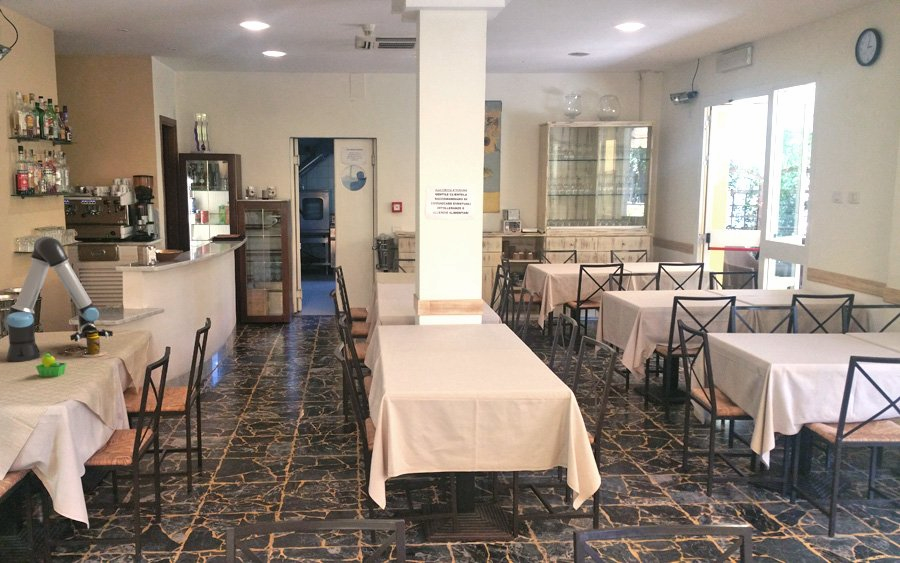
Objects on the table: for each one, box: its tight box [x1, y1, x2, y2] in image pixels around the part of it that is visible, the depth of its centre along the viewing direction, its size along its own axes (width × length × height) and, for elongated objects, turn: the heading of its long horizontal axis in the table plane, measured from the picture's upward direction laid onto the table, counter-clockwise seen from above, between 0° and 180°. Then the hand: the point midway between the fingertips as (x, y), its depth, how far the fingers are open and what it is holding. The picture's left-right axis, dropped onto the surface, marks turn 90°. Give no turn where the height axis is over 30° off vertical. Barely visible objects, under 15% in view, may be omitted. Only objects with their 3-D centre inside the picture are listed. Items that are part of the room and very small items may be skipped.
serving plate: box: [81, 350, 108, 358], centre depth 392 cm, size 12×12×1 cm
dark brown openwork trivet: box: [56, 345, 87, 357], centre depth 399 cm, size 13×12×2 cm
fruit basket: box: [35, 353, 67, 378], centre depth 352 cm, size 11×9×11 cm
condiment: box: [81, 330, 102, 356], centre depth 391 cm, size 7×8×12 cm
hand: (93, 338), depth 389 cm, fingers open, 13 cm apart
